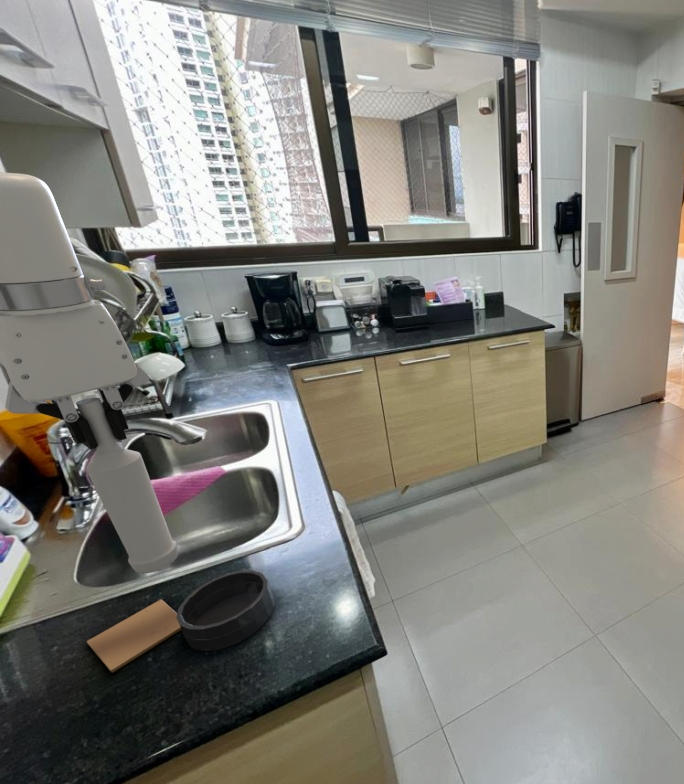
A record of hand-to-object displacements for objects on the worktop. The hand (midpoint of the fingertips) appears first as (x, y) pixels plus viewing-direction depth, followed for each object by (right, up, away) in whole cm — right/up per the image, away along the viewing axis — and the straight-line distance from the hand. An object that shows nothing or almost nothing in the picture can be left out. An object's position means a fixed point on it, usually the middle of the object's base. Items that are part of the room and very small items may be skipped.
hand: (104, 440), depth 58 cm
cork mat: (-7, -30, +11) cm, 33 cm away
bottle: (0, -18, +8) cm, 20 cm away
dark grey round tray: (+5, -29, +14) cm, 33 cm away
